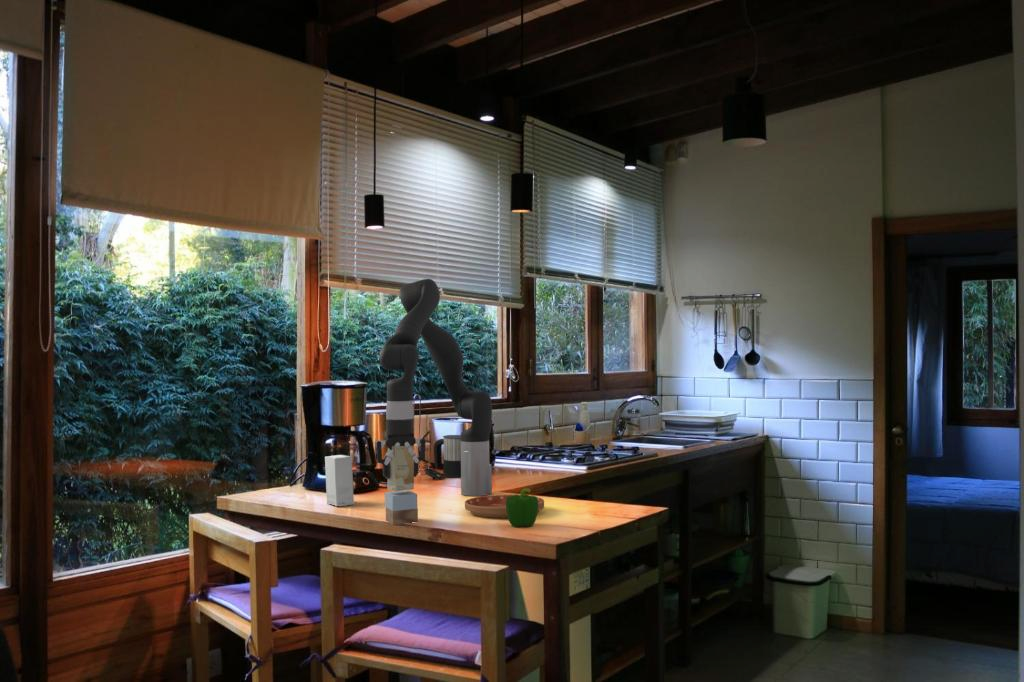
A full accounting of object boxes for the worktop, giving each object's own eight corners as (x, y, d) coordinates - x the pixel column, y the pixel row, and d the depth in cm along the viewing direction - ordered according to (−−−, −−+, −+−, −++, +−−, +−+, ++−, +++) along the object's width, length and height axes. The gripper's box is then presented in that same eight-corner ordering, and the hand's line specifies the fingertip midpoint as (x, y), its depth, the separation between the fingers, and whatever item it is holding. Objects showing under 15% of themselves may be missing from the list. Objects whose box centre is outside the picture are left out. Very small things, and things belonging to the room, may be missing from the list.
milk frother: (471, 474, 338) (471, 434, 338) (458, 481, 323) (458, 439, 323) (434, 474, 341) (434, 434, 341) (420, 480, 326) (420, 438, 326)
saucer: (449, 512, 266) (449, 499, 266) (513, 503, 279) (513, 491, 279) (494, 524, 247) (494, 510, 247) (560, 514, 261) (560, 501, 261)
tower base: (410, 518, 255) (410, 504, 255) (417, 523, 249) (417, 508, 249) (385, 521, 253) (385, 506, 253) (393, 525, 246) (392, 510, 246)
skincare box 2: (395, 492, 247) (395, 446, 247) (386, 490, 250) (386, 445, 250) (415, 489, 251) (414, 444, 251) (406, 487, 254) (405, 443, 254)
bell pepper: (500, 525, 245) (499, 487, 245) (525, 521, 249) (524, 484, 249) (518, 530, 238) (518, 491, 238) (543, 526, 243) (543, 488, 243)
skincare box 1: (354, 505, 277) (353, 456, 277) (335, 507, 273) (335, 457, 273) (343, 501, 284) (342, 453, 284) (324, 503, 280) (324, 455, 280)
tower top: (409, 504, 255) (409, 490, 255) (417, 508, 249) (417, 494, 249) (385, 506, 253) (384, 492, 253) (392, 511, 246) (392, 496, 246)
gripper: (421, 415, 257) (422, 473, 257) (371, 417, 251) (371, 477, 252) (429, 417, 250) (429, 477, 250) (377, 419, 245) (378, 481, 245)
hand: (400, 477), depth 251 cm, fingers closed on skincare box 2, 7 cm apart
